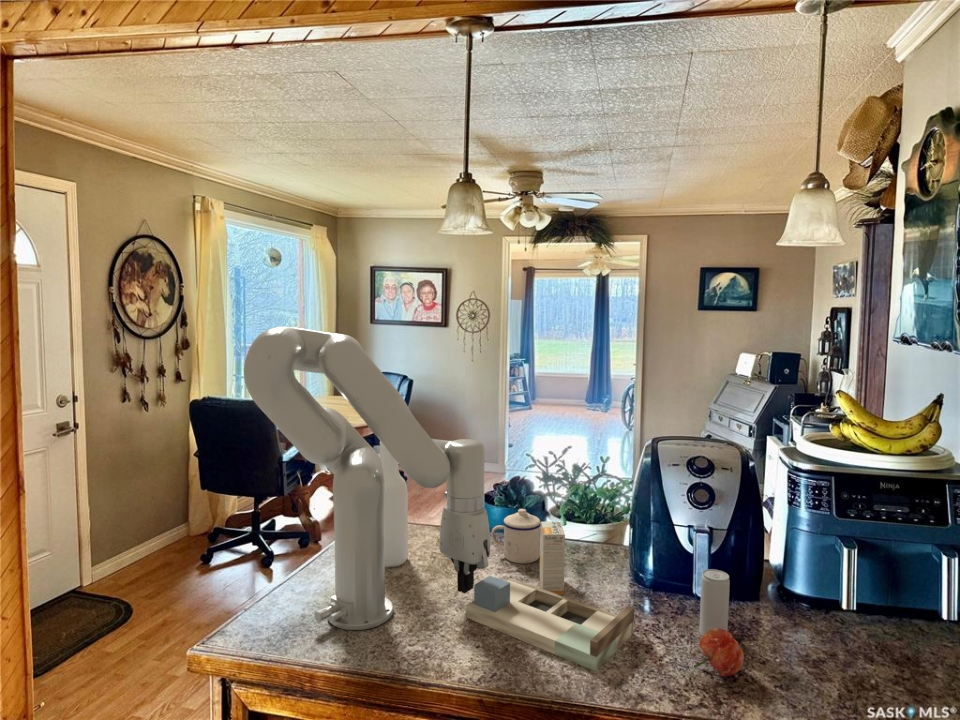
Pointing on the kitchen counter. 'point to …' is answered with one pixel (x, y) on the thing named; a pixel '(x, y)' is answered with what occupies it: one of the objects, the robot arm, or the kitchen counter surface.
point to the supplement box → (552, 557)
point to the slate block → (492, 593)
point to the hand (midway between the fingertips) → (465, 589)
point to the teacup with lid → (520, 537)
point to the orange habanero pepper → (722, 651)
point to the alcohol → (394, 511)
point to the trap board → (558, 624)
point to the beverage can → (714, 600)
